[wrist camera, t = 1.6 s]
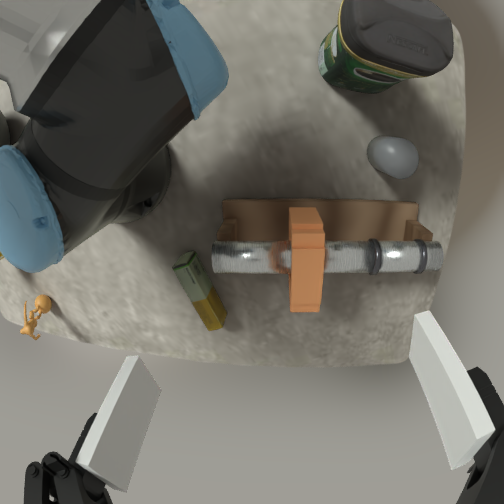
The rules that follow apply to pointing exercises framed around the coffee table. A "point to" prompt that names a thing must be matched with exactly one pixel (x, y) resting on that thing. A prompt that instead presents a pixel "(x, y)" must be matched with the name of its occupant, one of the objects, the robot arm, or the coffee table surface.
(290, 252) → the pipe
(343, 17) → the coffee jar
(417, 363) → the robot arm
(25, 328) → the figurine
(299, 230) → the ring
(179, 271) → the medication box
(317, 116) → the coffee table surface
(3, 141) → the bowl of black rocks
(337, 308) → the coffee table surface
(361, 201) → the stand
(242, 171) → the coffee table surface
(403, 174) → the gray egg
